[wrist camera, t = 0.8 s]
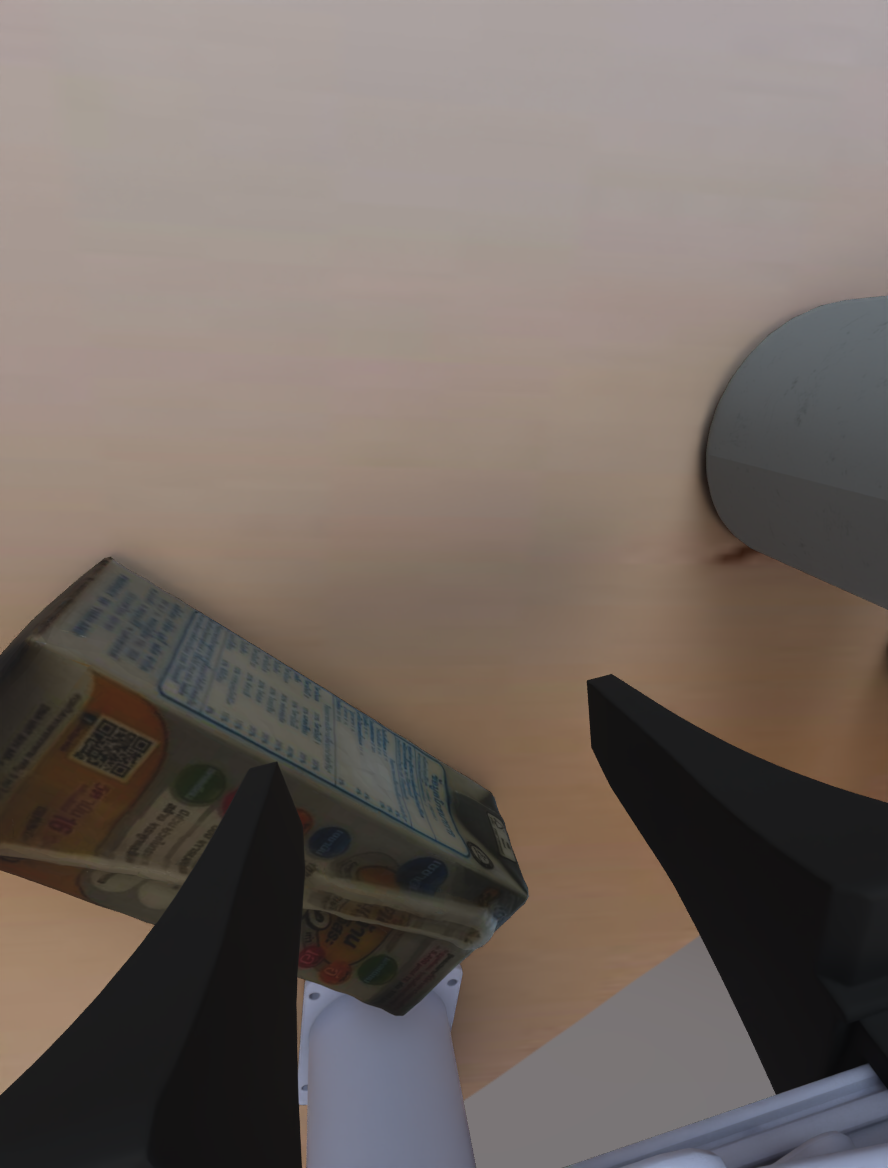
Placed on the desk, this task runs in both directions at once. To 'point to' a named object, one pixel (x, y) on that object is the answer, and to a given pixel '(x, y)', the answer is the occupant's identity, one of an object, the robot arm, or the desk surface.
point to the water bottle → (811, 447)
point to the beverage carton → (213, 775)
